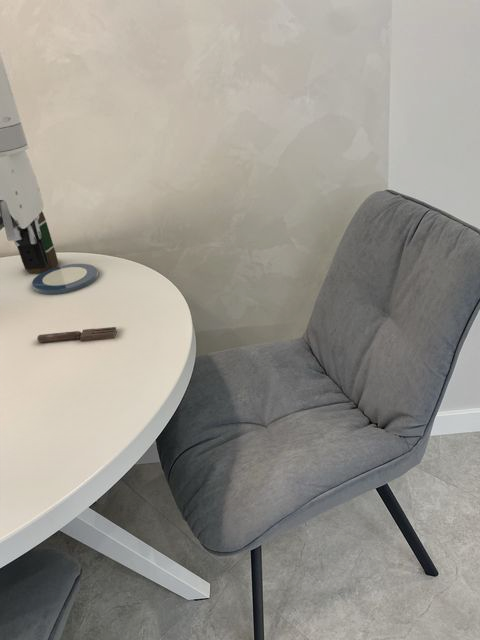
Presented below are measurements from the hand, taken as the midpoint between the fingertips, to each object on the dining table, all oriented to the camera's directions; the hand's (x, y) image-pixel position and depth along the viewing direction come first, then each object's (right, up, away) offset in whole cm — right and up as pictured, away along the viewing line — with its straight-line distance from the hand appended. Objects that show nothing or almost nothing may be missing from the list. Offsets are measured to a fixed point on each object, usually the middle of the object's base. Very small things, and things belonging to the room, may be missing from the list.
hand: (37, 266), depth 83 cm
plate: (-9, +3, +38) cm, 39 cm away
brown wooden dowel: (+1, -11, +15) cm, 18 cm away
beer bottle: (-18, +7, +46) cm, 49 cm away
